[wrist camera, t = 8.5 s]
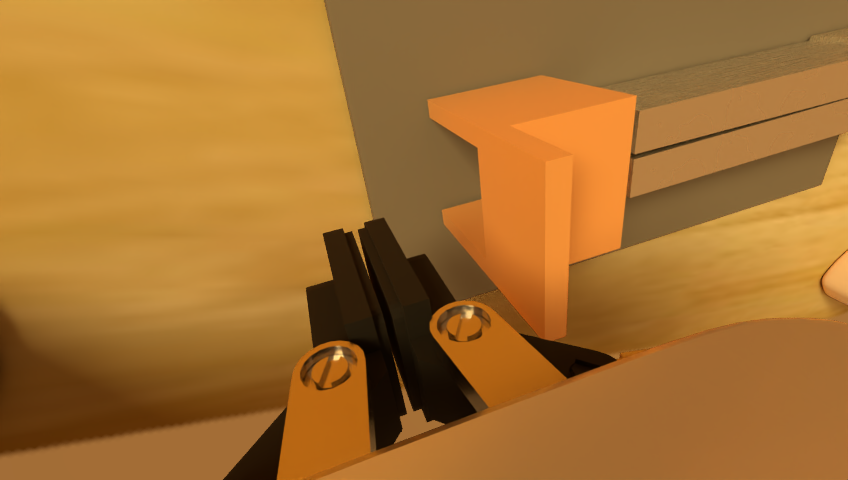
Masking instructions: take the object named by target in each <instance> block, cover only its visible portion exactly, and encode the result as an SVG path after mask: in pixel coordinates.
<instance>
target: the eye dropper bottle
mask: <svg viewBox="0 0 848 480" xmlns="http://www.w3.org/2000/svg"><path fill="white" fill-rule="evenodd" d="M822 286H823V289H824V292H825V293H826V294H827V295H828V296H830V297H832V298H834V299H836V300H838V301H840V302H842V303H844V304H846V305H848V250H847V251H846V252H845V253H844V254H843V255H842V256H841V257H840V258H839V259H838V260H837V261H836V262H835V263H834V264H833V265H832V266H831V267H830V268H829V269H828V271H827V272H826V273H825V274H824V276H823V278H822Z"/></svg>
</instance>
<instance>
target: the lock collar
mask: <svg viewBox="0 0 848 480" xmlns="http://www.w3.org/2000/svg"><path fill="white" fill-rule="evenodd" d="M636 98H637V95H632V94H627V93H623V92H618V91H613V90H609V89H604V88H599V87H595V86H590V85H585V84H581V83H576V82H571V81H567V80H562V79H557V78H553V77H548V76H543V75H540V76H535V77H530V78H526V79H521V80H517V81H512V82H507V83H503V84H498V85H493V86H489V87H484V88H479V89H475V90H470V91H466V92H461V93H456V94H452V95H447V96H442V97H438V98H433V99H428V100H427V101H428V109H429V117H430V118H431V119H432V120H434V121H436V122H437V123H439V124H440V125H442V126H444V127H445V128H447V129H448V130H450V131H452V132H453V133H455V134H456V135H458V136H459V137H461V138H463V139H464V140H466V141H467V142H469V143H471V144H472V145H474V146H475V147H477V148H478V161H479V174H480V187H481V199H480V200H476V201H473V202H469V203H465V204H462V205H458V206H454V207H451V208H447V209H443V210H442V215H443V223H444V225H445V226H446V227H447V228H448V230H449V231H450V232H451V233H452V234H453V235H454V237H455V238H456V239H457V240H458V241H459V243H460V244H461V245H462V246H463V247H464V248H465V250H466V251H467V252H468V253H469V254H470V256H471V257H472V258H473V259H474V260H475V262H476V263H477V264H478V265H479V266H480V267H481V269H482V270H483V271H484V272H485V273H486V275H487V276H488V277H489V278H490V279H491V281H492V282H493V283H494V284H495V285H496V286H497V288H498V289H499V290H500V291H501V292H502V294H503V295H504V296H505V297H506V298H507V299H508V301H509V302H510V303H511V304H512V305H513V307H514V308H515V309H516V310H517V311H518V313H519V314H520V315H521V316H522V317H523V318H524V320H525V321H526V322H527V323H528V324H529V326H530V327H531V328H532V329H533V330H534V332H535V333H536V334H537V335H538V336H539V337H540V338H541V339H546V340H550V341H554V340H557V339H559V338H562V337H565V336H566V328H567V301H568V275H569V265H570V264H573V263H576V262H579V261H582V260H585V259H588V258H591V257H594V256H598V255H601V254H604V253H607V252H610V251H613V250H616V249H619V248H620V247H621V237H622V228H623V219H624V210H625V200H626V191H627V182H628V172H629V163H630V154H631V145H632V135H633V126H634V117H635V107H636Z"/></svg>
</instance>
